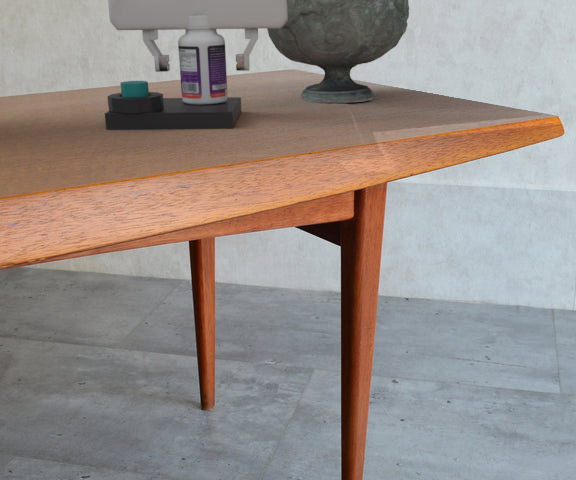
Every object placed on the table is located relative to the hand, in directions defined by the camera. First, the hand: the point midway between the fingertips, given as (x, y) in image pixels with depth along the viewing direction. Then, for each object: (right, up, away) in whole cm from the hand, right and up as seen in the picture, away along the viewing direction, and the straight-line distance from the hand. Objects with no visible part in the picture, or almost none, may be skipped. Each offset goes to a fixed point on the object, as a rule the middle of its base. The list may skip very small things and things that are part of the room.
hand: (202, 70), depth 86 cm
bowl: (+16, +1, +17) cm, 23 cm away
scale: (-3, -6, 0) cm, 7 cm away
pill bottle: (0, -4, +1) cm, 4 cm away
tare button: (-7, -4, -4) cm, 9 cm away
